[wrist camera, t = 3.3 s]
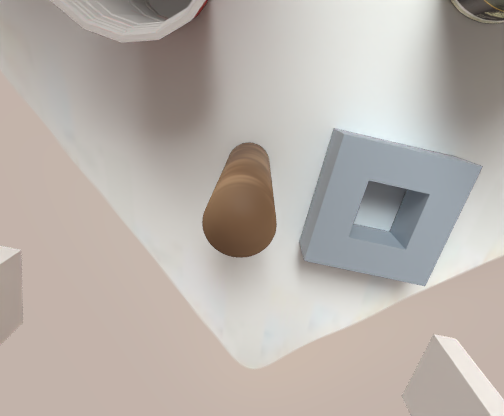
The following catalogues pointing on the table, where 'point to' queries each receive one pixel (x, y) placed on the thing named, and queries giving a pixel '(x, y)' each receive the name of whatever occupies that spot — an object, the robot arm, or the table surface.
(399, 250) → the socket block
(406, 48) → the table surface
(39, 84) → the table surface
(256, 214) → the peg
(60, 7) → the plastic cup
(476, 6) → the coffee can
